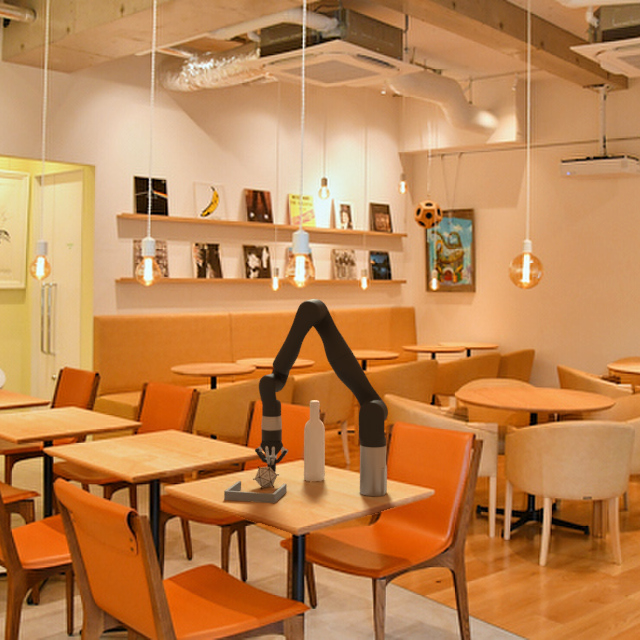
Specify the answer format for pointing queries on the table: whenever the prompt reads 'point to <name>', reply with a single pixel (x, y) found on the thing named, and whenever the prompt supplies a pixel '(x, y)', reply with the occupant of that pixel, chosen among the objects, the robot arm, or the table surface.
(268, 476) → the game die
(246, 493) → the bay
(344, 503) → the table surface
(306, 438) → the bottle
